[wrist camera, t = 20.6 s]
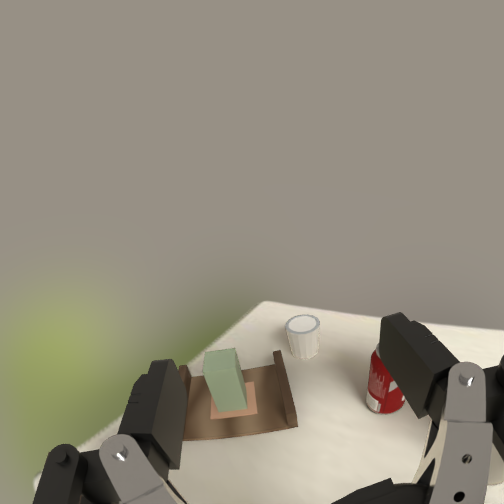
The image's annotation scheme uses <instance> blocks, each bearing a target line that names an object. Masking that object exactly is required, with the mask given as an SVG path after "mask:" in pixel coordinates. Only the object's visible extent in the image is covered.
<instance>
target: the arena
mask: <svg viewBox="0 0 504 504" xmlns="http://www.w3.org/2000/svg"><path fill="white" fill-rule="evenodd" d="M273 356H274V362H275V365H269V366H264V367H259V368H253V369H247V370H241V372H242V376H243V379H244V383H247V382H253V381H254V387H255V396H256V404H257V413H258V414H252V415H245V416H238V417H230V418H221V419H210V417H211V396H212V395H211V392H210V390H209V387H208V385H207V382H206V380H205V377H204V376H196V377H191V375H190V372H189V370H188V367H187V365H182V366H179V370H178V372H179V374H180V376H181V379H182V381H183V383H184V385H185V388H186V392H187V408H186V416H185V424H184V432H183V441H193V440H209V439H221V438H231V437H240V436H247V435H254V434H261V433H267V432H273V431H279V430H284V429H289V428H294V427H298V423H297V415H296V410H295V406H294V402H293V398H292V394H291V390H290V386H289V382H288V378H287V374H286V370H285V366H284V362H283V358H282V354H281V350H279V351H274V352H273Z"/></svg>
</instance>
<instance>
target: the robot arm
mask: <svg viewBox="0 0 504 504" xmlns="http://www.w3.org/2000/svg"><path fill="white" fill-rule="evenodd" d="M379 355H380V359H381V361H382V363H383V364H384V366H385V367H386V369H387V370H388V372H389V373H390V375H391V377H392V378H393V380H394V381H395V383H396V384H397V386H398V387H399V389H400V390H401V392H402V393H403V395H404V397H405V398H406V400H407V401H408V403H409V404H410V406H411V408H412V409H413V411H414V412H415V414H416V416H417V417H418V419H419V418H422V417H424V416H426V415H428V414H429V416H430V417H431V421H430V423H429V428H428V433H427V438H426V442H425V446H424V450H423V454H422V458H421V461H420V464H419V467H418V469H417V472H416V474H415V476H414V479H413V481H412V483H400V484H393V482H392V480H391V478H389V479H386V480H383V481H381V482H378V483H375V484H373V485H370V486H367V487H364V488H361V489H358V490H356V491H354V492H352V493H351V494H349V495H347V496H345V497H343V498H341V499H339V500H337V501H335V502H333V503H331V504H484V500H485V495H486V490H487V485H497V484H500V483H503V482H504V355H503V357H502V359H501V361H500V364H499V365H498V366H494V367H490V368H485V369H482V368H481V367H479V366H478V365H477V364H474V363H471V362H459V361H458V359H457V358H456V357H455V356H454V355H453V354H452V353H451V352H450V351H449V350H448V349H447V348H446V347H445V346H444V345H443V344H442V343H441V342H440V341H438V339H437V338H436V337H435V336H434V335H432V332H431V331H430V330H429V329H428V328H427V327H426V326H424V325H422V324H420V323H418V322H416V321H411V322H410V321H409V320H408V319H407V317H406V316H405V315H404V314H402V313H401V312H399V313H396V314H392V315H389V316H386V317H383V318H382V320H381V328H380V340H379ZM186 408H187V392H186V388H185V385H184V383H183V381H182V379H181V376H180V374H179V372H178V370H177V367H176V365H175V363H174V361H173V360H172V359H166V360H155V361H152V363H151V365H150V368H149V371H148V374H142V375H141V376H140V378H139V379H138V380H137V381H136V382H135V384H134V386H133V389H132V392H131V396H130V397H129V400H128V404H127V406H126V409H125V412H124V415H123V418H122V421H121V424H120V428H119V431H118V434H117V435H114V436H111V437H110V438H108V439H107V440H105V441H104V442H103V444H102V445H101V447H100V449H98V450H93V451H87V452H81V453H80V452H79V451H78V450H77V449H76V448H75V447H74V446H72V445H70V444H61V445H58V446H57V447H55V448H54V449H52V451H51V452H50V453H49V455H48V458H47V461H46V463H45V466H44V469H43V472H42V475H41V478H40V481H39V484H38V487H37V491H36V494H35V497H34V501H33V504H79V501H80V496H81V495H82V497H81V501H80V504H119V501H122V504H189V503H188V502H187V501H186V500H185V498H184V497H183V496H182V495H181V494H180V492H179V491H178V490H177V489H176V487H175V486H174V485H173V484H172V482H171V481H170V480H169V479H168V472H169V469H179V468H180V458H181V449H182V441H183V432H184V424H185V416H186Z"/></svg>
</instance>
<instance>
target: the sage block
mask: <svg viewBox="0 0 504 504" xmlns="http://www.w3.org/2000/svg"><path fill="white" fill-rule="evenodd" d="M203 375H204V377H205V380H206V382H207V385H208V387H209V390H210V392H211V395H212V397H213V400H214V402H215V405H216V407H217V409H218V412H226V411H235V410H243V409H248V408H247V392H246V386H245V383H244V379H243V376H242V372H241V368H240V365H239V361H238V357H237V354H236V350H235V348H232V349H225V350H218V351H211V352H205V357H204V365H203Z"/></svg>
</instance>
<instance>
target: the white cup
mask: <svg viewBox="0 0 504 504" xmlns="http://www.w3.org/2000/svg"><path fill="white" fill-rule="evenodd" d="M319 327H320V321H319V320H318V318H317V317H315V316H312V315H298V316H295V317H293V318H291V319H289V320H288V321H287V322H286V325H285V328H286V332H287V336H288V340H289V344H290V348H291V352H292V354H293V356H294V357H296V358H299V359H309V358H312V357H313V356H315V355H316V354H317V353H318V347H319Z"/></svg>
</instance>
